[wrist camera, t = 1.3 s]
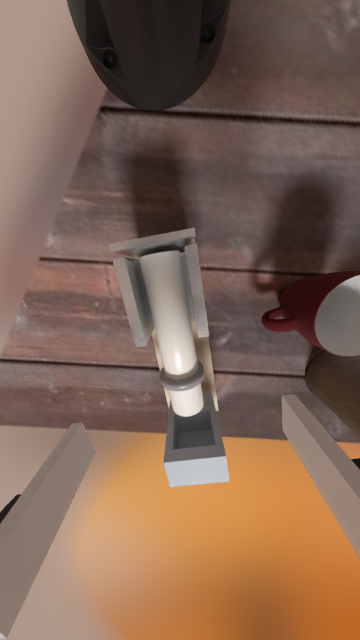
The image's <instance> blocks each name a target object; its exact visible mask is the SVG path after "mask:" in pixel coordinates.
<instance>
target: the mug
mask: <svg viewBox="0 0 360 640" xmlns="http://www.w3.org/2000/svg"><path fill="white" fill-rule="evenodd" d="M279 316H283V317H284V318H285V319H275V318H277V317H279ZM262 323H263V325H264V327H265V328H267V329H269V330H271V331H276V332H287V331H292V330H297V331H298V332H299V333H300V334H301V335H302V336H303V337H304V338H306V339H307V340H308V341H310V342H311V343H313V344H314V345H316V346H318V347H319V348H321V349H323V350H325V351H327V352H329V353H331V354H333V355H337V356H341V357H355V356H360V271H343V272H335V273H329V274H323V275H317V276H311V277H306V278H303V279H300V280H298V281H296V282H294V283H293V284H291V285H290V286H289V287H287V288H286V289H285V290H284V292H283V293H282V295H281V298H280V307H279V308H276V309H272V310H270V311H267V312H266V313H264V315H263V316H262Z"/></svg>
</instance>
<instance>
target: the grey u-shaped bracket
mask: <svg viewBox="0 0 360 640" xmlns="http://www.w3.org/2000/svg"><path fill="white" fill-rule="evenodd" d="M195 237H196V233H195V228H190V229H185V230H179V231H174V232H169V233H164V234H159V235H154V236H149V237H143V238H138V239H133V240H128V241H123V242H118V243H112V244H109V248H110V252H113V253H117V254H122V255H127V256H132V257H136V258H140V257H142V256H145V255H150V254H154V253H160V252H166V251H180V250H184V252H182V253H180V258H181V264H182V270H183V277H184V283H185V289H186V295H187V301H188V308H189V314H190V320H191V321H195V323H196V328H197V333H198V338H201V337H208V336H209V330H208V323H207V315H206V308H205V300H204V293H203V286H202V278H201V271H200V263H199V256H198V248H197V244H194V245H193V242H194V239H195ZM113 263H114V267H115V270H116V274H117V278H118V282H119V286H120V289H121V293H122V297H123V301H124V305H125V308H126V312H127V316H128V320H129V323H130V327H131V331H132V335H133V339H134V342H135V346H136V347H142V346H146V345H147V343H148V341H149V339H150V337H151V335H152V333H153V330H154V328H155V327H154V323H153V318H152V314H151V309H150V305H149V300H148V296H147V291H146V287H145V282H144V278H143V274H142V269H141V265H140V260H136V259H130V258H119V259H114V260H113Z"/></svg>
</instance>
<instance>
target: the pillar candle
mask: <svg viewBox="0 0 360 640" xmlns="http://www.w3.org/2000/svg"><path fill="white" fill-rule="evenodd" d="M305 380H306V384H307V386H308V388H309V390H310V391H311V392H312V393H313V394H315V395H316V396H317V397H318V398H319V399H321V401H322V402H323V403H324V404H325V405H327V407H329V408H330V409H331V410H332V411H333V412H334V413H335V414H336V415H337V416H338V417H339V418H340V419H341V420H343V421H344V422H345V423H346V424H347V425H348V426H349V427H350V428H351V429H352V430H353V431H354V432H355V433H356V434H357V435H358V436H359V437H360V356H355V357H341V356H337V355H333V354H331V353H329V352H327V351H324V352H322V353H321V354H319V355H318V356H317V357H316V358H315V359H314V360H313V361H312V362H311V364H310V366H309V368H308V370H307V373H306V378H305Z"/></svg>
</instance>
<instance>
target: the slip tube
mask: <svg viewBox="0 0 360 640" xmlns="http://www.w3.org/2000/svg"><path fill="white" fill-rule="evenodd" d="M139 260H140V265H141V269H142V274H143V278H144V282H145V287H146V291H147V296H148V300H149V305H150V309H151V314H152V318H153V323H154V327H155V332H156V336H157V340H158V345H159V349H160V354H161V358H162V363H163V368H162V369H161V371H160V378H161V382H162V385H163V386H164V387H165V388H166V389H168V390H169V394H170V399H171V403H172V407H173V410H174V412H175V413H176V414H178V415H180V416H184V417H187V416H193V415H195V414H197V413H198V412H200V411H201V409H202V408H203V405H204V400H203V394H202V388H201V382H202V381H203V379H204V369H203V365H202V363H201V362H200V361H198V360H197V357H196V351H195V345H194V339H193V332H192V326H191V320H190V314H189V308H188V301H187V295H186V289H185V283H184V277H183V270H182V264H181V258H180V252H179V251H166V252H160V253H154V254H150V255H145V256H142V257H140V258H139Z"/></svg>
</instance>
